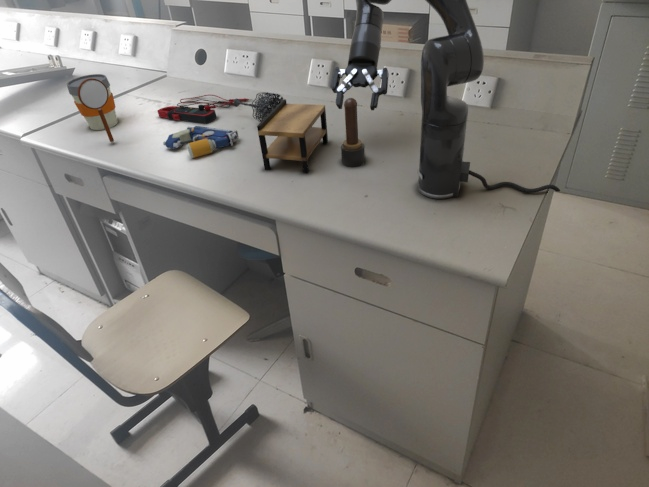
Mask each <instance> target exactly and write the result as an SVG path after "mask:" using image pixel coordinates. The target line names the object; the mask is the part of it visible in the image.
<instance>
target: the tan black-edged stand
mask: <svg viewBox="0 0 649 487" xmlns="http://www.w3.org/2000/svg"><path fill="white" fill-rule="evenodd" d="M278 103H279V102H278ZM286 103H287V99H285V98H283V100H282V101H281V102H280V103H279V104H278V105H277V106H276V107H275V108H274V109H273V110H272V111H271V112H270V113H269V114H268V115H267V116H266V117H265V119H263V121H262V120H261V121H262V122H259V123H258V124H257V126H256V128H257V134H258V141H259V145H260V151H261V152H260V153H261V156H262V161H263V167H264V170H265V171H270V170H271V163H270V162H271V161H270V159H273V160H275V159H276V160H285V161H286V160H287V161H300V162H301V165H302V173H303V174H309V172H310V167H309V158H310V157H311V155H312V154H313V152H314V150H315V149H316V148H317V146H318V145H319V144H320V142H321V140H322V144H323V145H328V143H329V136H328V128H327V127H328V126H327V125H328V124H327V113H326V105H325V104H308V103H307V104H305V103H302V104H301V103H287V104H286ZM319 118H320V124H321V125H320V126H321V127H320V126H314V125H315V124H316V122H317V121H318V120H319ZM267 136H269V137H276V138H275V139H273V141H272V142H271V143H270V145H269V146H268V145H267V139H266V137H267Z"/></svg>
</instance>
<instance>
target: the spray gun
mask: <svg viewBox="0 0 649 487" xmlns="http://www.w3.org/2000/svg"><path fill="white" fill-rule="evenodd" d="M239 137H240V136H239V132H238V130H236V129H235V130H230V129H223V128H213V127H208V126H200V125H195V126H187V127H186V129H184V130H180V131H177V132H174V133H172V134H169V135H168V137H167V139H166V140H165V141H163V142H162V145H163V146H165V147H166V148H167V149H173V150H176V149H177V148H179V147H182V146H183V145H186V148H187V149H188V153H189V156H190V157H191V158H193V159H194V158H199V157H202V156H206V155H208V154H212V153H213V152H214V150H216V149H217V148H220V149H221V148H224V147H228V146H229V145H230V146H231V147H233V146H234V143H235V142H236V141H237V140H239Z"/></svg>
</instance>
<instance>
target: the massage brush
mask: <svg viewBox="0 0 649 487" xmlns="http://www.w3.org/2000/svg"><path fill="white" fill-rule="evenodd" d="M234 99H235V100H234V102H233V103H234V105H233V106H234V107H235V108H236V107H239V106H240V105H242V106H249V107H251V109H252V117H253V118H254V119H255V120H256V121H257V122H259V123H261V122H262V121H263V120H264V119H265V117H266V116H267V115H268V114H269V113H270V112H271V111H272V110H273V109H274V108H275V107H276V106H277V105H278V104H279V103H280V102H281V101H282V100H283V99H284V97H283V96H282V95H281V94H278V93H274V92H273V93H272V92H261V93H260V92H258V93H256V96H255V98H254V100H252V101H251V103H248V102H247V103H246V102H244V101H239V99H240V98H234ZM286 104H288V103H287V102H286Z"/></svg>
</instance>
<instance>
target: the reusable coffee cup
mask: <svg viewBox="0 0 649 487" xmlns="http://www.w3.org/2000/svg"><path fill="white" fill-rule="evenodd" d="M90 78H94V79H98V80H100V81H101V82H102V83H104V85H105V86H106V87H107V90H108V95H109V96H108V101H107V103H106V104H105V105H104V106H103V107H102V108H101V109H102V111H103V114H104V116H105V119H106V121H107V124H108V126H109V129H111V128H113V127H115V126H116V125H117V124H118V117H117V113H116V102H115V99H114V98H115V97H114V95H113V94H114V93H113V92H112V91H111V83H110V81H109V79H108V77H107V75H105V74H102V73H93V74H87V75H86V74H85V75H82V76H78V77H75V78H72V79H71V80H69V81H67V83H66V87H67V90H68V94H69V95H70V96H71V97H72V100H74V101H73V104H74V105H75V106H76V108H77V110H78V112H79V113H80V116H82V117H83V118H84V119H85V121H86V123H87V125H88V127H89V128H90V129H91V130H92V131H103V130H105V127H104V125H103V122H102V120H101V117H100V115H99V112H98V109H89V108H87V107H85V106H84V105H83V104H82V103H81V101H80V100H79V97H78V88H79V86H80V84H81V83H82V82H83V81H84V80H86V79H90Z"/></svg>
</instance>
